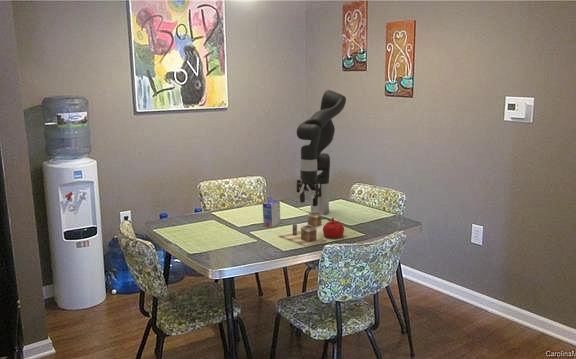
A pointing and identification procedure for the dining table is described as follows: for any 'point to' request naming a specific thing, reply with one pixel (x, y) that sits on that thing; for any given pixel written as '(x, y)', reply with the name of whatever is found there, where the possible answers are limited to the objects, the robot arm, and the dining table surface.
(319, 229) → the mat
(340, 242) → the dining table surface
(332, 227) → the pomegranate
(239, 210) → the dining table surface
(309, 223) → the sleeve
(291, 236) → the pin board
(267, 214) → the ink cartridge box
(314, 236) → the sleeve
